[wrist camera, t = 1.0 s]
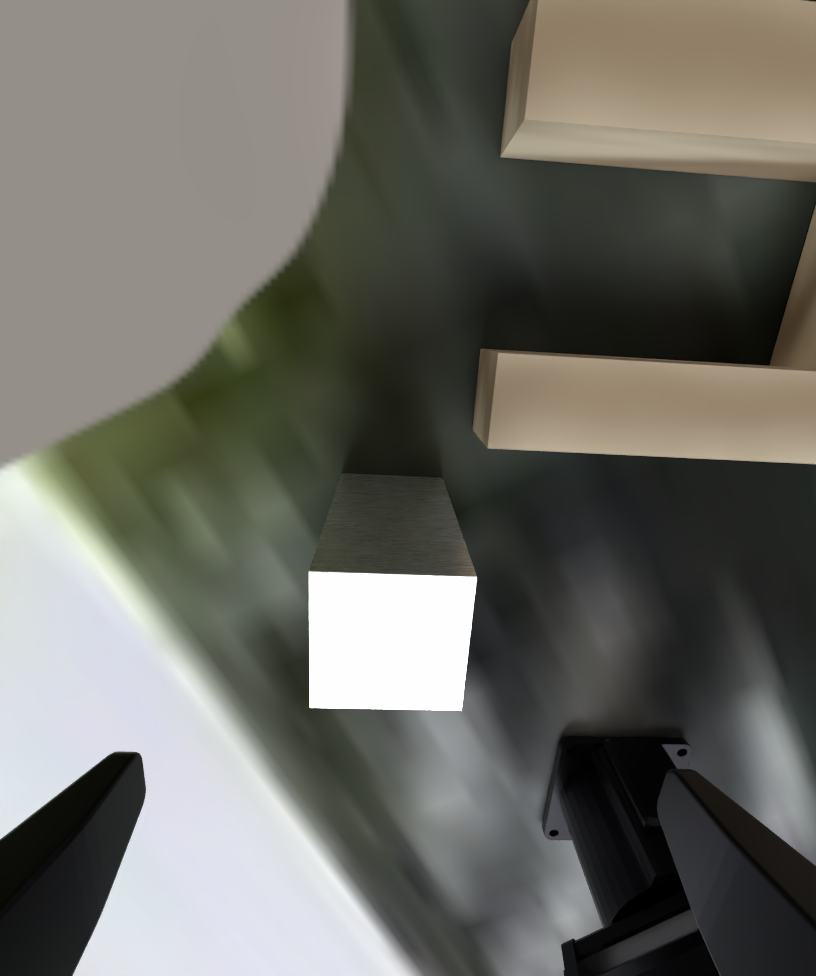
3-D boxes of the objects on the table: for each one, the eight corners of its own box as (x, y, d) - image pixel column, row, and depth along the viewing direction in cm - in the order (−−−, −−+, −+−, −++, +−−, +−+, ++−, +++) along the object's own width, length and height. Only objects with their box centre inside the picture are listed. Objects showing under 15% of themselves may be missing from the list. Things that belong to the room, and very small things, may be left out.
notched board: (866, 449, 19) (948, 470, 16) (472, 429, 18) (487, 448, 16) (1000, 87, 15) (1138, 34, 13) (512, 42, 15) (540, -26, 12)
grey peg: (434, 567, 20) (461, 710, 13) (340, 564, 20) (310, 707, 13) (442, 477, 19) (476, 577, 11) (341, 473, 19) (309, 571, 11)
